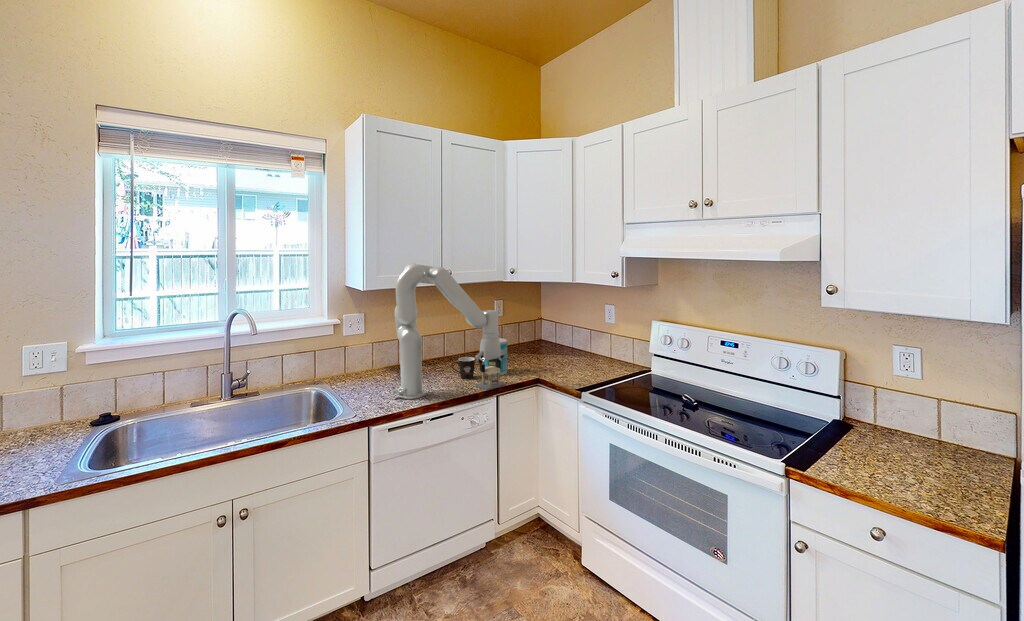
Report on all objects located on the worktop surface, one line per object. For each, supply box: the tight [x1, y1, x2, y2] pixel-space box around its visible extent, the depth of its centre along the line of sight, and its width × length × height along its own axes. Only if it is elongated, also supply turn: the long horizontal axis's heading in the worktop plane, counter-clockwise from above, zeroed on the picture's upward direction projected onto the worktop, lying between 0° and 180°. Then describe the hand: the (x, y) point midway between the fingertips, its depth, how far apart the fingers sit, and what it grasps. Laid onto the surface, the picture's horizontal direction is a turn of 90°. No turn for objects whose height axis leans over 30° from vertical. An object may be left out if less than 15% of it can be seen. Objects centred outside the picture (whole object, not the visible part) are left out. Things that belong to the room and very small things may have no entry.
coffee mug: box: [450, 356, 476, 380], centre depth 233 cm, size 12×9×10 cm
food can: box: [484, 337, 508, 377], centre depth 241 cm, size 12×12×18 cm
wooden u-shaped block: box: [481, 366, 501, 387], centre depth 219 cm, size 6×6×8 cm
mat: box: [475, 381, 507, 391], centre depth 220 cm, size 12×9×1 cm
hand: (490, 370), depth 219 cm, fingers open, 9 cm apart
